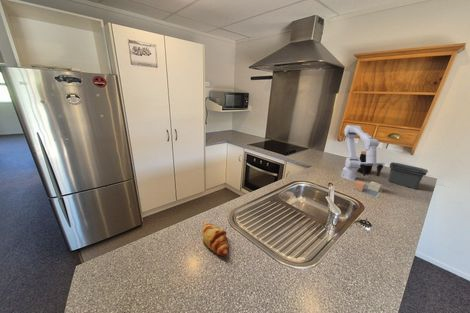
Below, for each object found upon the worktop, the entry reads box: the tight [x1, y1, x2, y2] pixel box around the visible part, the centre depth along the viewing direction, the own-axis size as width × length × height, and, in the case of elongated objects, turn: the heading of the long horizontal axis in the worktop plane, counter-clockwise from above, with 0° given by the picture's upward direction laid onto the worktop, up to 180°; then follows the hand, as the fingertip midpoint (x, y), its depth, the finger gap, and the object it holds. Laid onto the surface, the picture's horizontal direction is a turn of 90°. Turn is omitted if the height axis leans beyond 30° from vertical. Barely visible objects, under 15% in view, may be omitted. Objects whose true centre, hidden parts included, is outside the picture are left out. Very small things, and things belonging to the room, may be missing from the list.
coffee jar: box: [357, 150, 374, 175], centre depth 161 cm, size 11×11×18 cm
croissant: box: [201, 221, 229, 257], centre depth 78 cm, size 21×10×8 cm, turn 31°
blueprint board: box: [351, 181, 384, 199], centre depth 131 cm, size 15×20×5 cm
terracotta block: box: [353, 180, 367, 192], centre depth 130 cm, size 5×5×5 cm
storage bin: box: [388, 161, 429, 190], centre depth 143 cm, size 21×16×14 cm
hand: (371, 176), depth 126 cm, fingers open, 7 cm apart
